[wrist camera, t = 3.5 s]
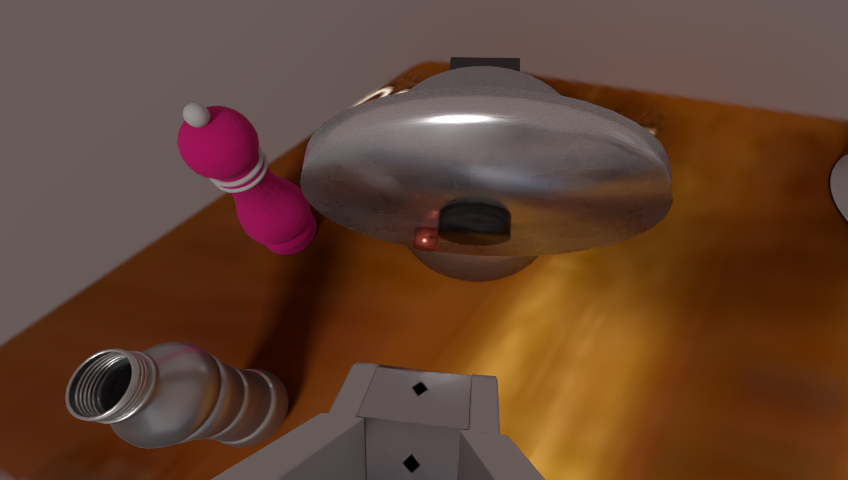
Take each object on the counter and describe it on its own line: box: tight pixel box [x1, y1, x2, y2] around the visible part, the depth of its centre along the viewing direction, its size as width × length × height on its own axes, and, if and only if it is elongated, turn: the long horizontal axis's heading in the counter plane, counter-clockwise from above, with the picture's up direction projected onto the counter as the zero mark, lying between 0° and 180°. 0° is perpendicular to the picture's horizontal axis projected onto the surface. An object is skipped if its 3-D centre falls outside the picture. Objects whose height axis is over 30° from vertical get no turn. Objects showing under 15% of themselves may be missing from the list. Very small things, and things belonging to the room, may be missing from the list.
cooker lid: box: [300, 86, 673, 256], centre depth 23 cm, size 19×19×3 cm
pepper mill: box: [177, 103, 317, 255], centre depth 39 cm, size 7×7×20 cm
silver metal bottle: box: [65, 342, 289, 448], centre depth 31 cm, size 6×7×20 cm
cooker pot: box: [408, 57, 560, 282], centre depth 42 cm, size 18×22×12 cm
